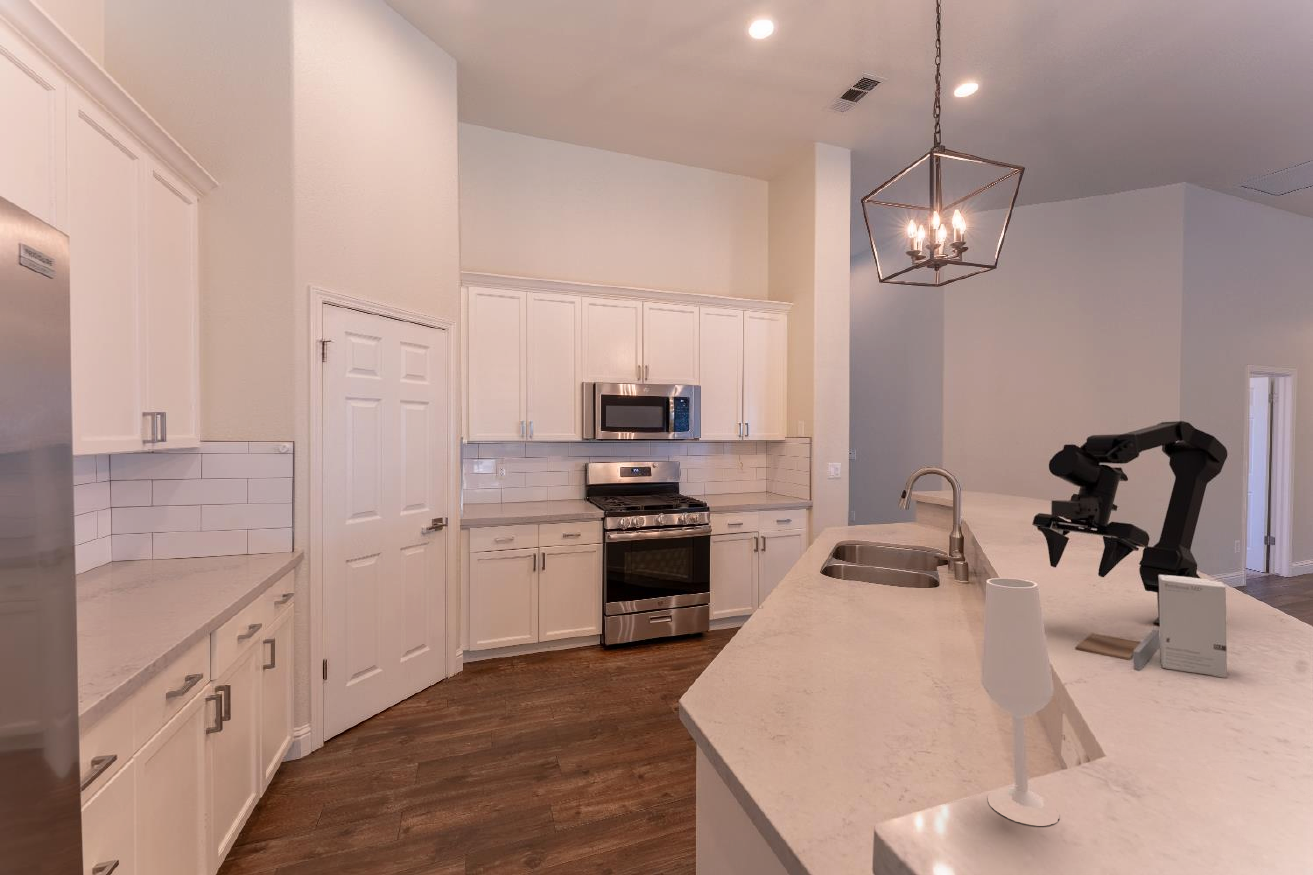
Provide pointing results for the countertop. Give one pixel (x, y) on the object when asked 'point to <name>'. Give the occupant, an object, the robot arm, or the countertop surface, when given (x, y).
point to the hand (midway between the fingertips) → (1076, 571)
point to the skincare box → (1193, 625)
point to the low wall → (1146, 649)
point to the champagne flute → (1016, 665)
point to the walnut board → (1108, 646)
